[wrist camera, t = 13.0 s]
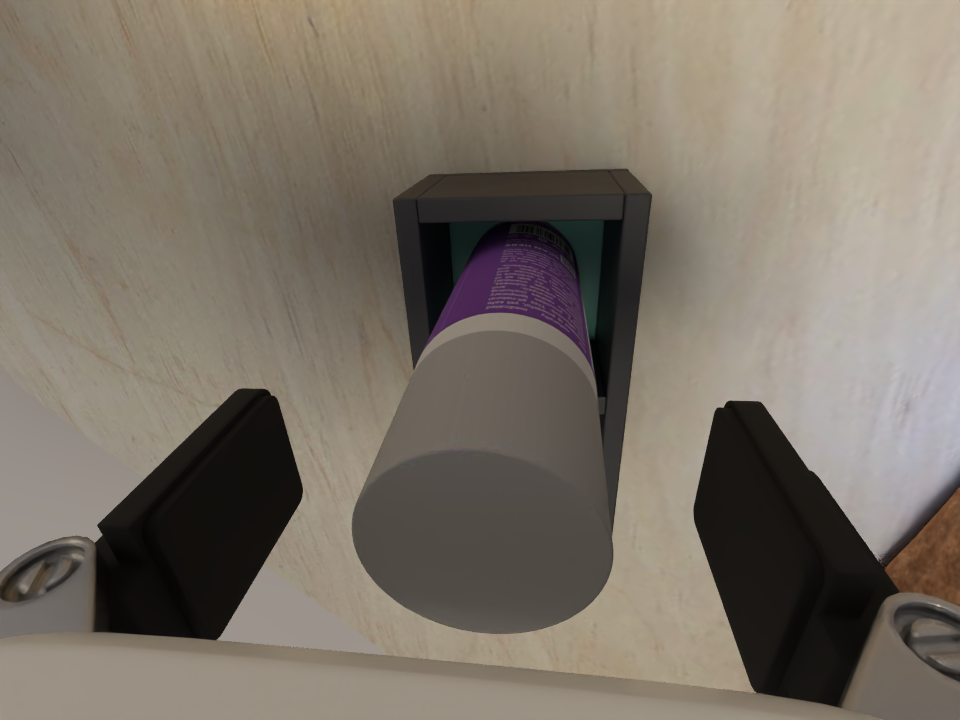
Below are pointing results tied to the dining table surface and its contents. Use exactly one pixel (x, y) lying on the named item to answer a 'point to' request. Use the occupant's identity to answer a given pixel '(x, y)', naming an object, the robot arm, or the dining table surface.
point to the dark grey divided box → (589, 229)
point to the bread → (932, 557)
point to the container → (496, 451)
